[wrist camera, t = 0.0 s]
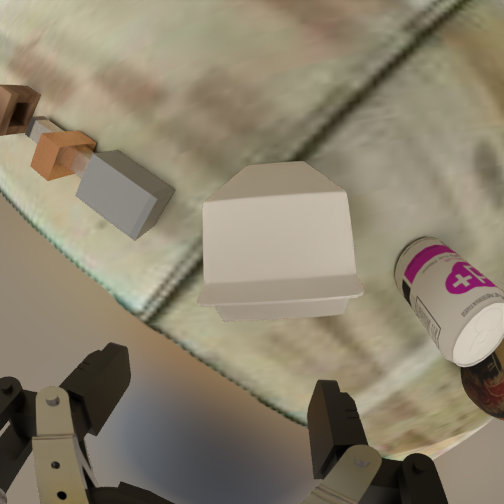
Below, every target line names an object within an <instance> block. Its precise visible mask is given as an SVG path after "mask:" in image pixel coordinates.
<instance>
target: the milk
mask: <svg viewBox="0 0 504 504" xmlns="http://www.w3.org/2000/svg"><path fill="white" fill-rule="evenodd" d="M203 263H204V286H203V288H202V290H201V292H200V294H199V296H198V299H197V302H198V304H199V305H201V306H204V307H211V306H215V307H216V309H217V311H218V313H219V315H220V317H221V319H222V320H223V321H253V320H275V319H292V318H306V317H319V316H331V315H342V314H344V313H345V310H346V307H347V304H348V301H349V298H356V297H360V296H361V295H362V294H363V293H364V288H363V286H362V284H361V283H360V281H359V279H358V277H357V275H356V265H355V254H354V245H353V235H352V227H351V219H350V212H349V204H348V198H347V193H346V192H345V191H344V190H343V189H342V188H340V187H339V186H337V185H336V184H335V183H333V182H332V181H331V180H329V179H328V178H327V177H325V176H324V175H322V174H321V173H320V172H318V171H317V170H315V169H314V168H313V167H311V166H310V165H308V164H307V163H305V162H304V161H295V162H280V163H268V164H256V165H247V166H246V167H245V168H243V169H242V170H241V171H240V172H239V173H237V174H236V175H235V176H234V177H233V178H231V179H230V180H229V181H228V182H227V183H226V184H224V185H223V186H222V187H221V188H220V189H219V190H217V191H216V192H215V193H214V194H213V195H212V196H210V197H209V198H208V199H207V200H206V201H205V202H204V203H203Z"/></svg>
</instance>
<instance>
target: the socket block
mask: <svg viewBox="0 0 504 504" xmlns="http://www.w3.org/2000/svg"><path fill="white" fill-rule="evenodd" d="M40 96H41V95H40V94H38V93H37V92H35V91H34V90H32V89H31V88H29V87H28V86H21V85H0V136H3V135H10V134H18V133H26V131H27V128H28V125H29V123H30V120H31V117H32V115H33V113H34V110H35V108H36V105H37V103H38V101H39V98H40Z"/></svg>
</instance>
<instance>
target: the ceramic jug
mask: <svg viewBox="0 0 504 504" xmlns="http://www.w3.org/2000/svg"><path fill="white" fill-rule="evenodd" d="M461 379H462V384H463V387H464V390H465V392H466V394H467V395H468V396H469V398H470V399H471V400H472V401H473V402H474V403H475V404H476V405H477V406H478V407H479V408H480V409H481V410H483V411H484V412H485V413H487V414H489V415H491V416H493V417H495V418H498V419H500V420H504V338H503V339H502V341H501V342H500V344H499V345H498V346H497V348H496V349H495V350H494V351H493V352H492V353H491V354H490V355H489V356H488V357H486V358H485V359H484V360H482V361H481V362H479V363H477V364H475V365H473V366H468V367H461Z"/></svg>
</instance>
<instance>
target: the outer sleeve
mask: <svg viewBox="0 0 504 504" xmlns="http://www.w3.org/2000/svg"><path fill="white" fill-rule="evenodd" d="M174 191H175V189H174V188H172V187H171V186H169V185H168V184H167V183H165V182H164V181H162V180H161V179H159V178H158V177H156V176H155V175H153V174H152V173H150V172H149V171H148V170H146V169H145V168H143V167H142V166H140V165H139V164H137V163H136V162H134V161H133V160H131V159H130V158H129V157H127V156H126V155H124V154H123V153H121V152H120V151H118V150H114V151H107V152H100V153H93V155H92V157H91V159H90V161H89V163H88V166H87V168H86V170H85V173H84V175H83V178H82V180H81V183H80V185H79V188H78V190H77V193H76V195H75V196H77V197H78V198H79V199H80V200H82V201H83V202H84V203H85V204H87V205H88V206H89V207H91V208H92V209H93V210H94V211H96V212H97V213H98V214H100V215H101V216H102V217H104V218H105V219H106V220H108V221H109V222H110V223H111V224H113V225H114V226H115V227H117V228H118V229H120V230H121V231H122V232H124V233H125V234H126V235H128V236H129V237H130V238H132V239H133V240H134V241H135V240H137V239H138V238H139V237H140V236H142V235H143V234H144V233H146V232H147V231H148V230H149V229H151V228H152V227H153V226H154V225H155V223H156V222H157V220H158V218H159V216H160V215H161V213H162V211H163V209H164V208H165V206H166V204H167V203H168V201H169V199H170V198H171V196H172V194H173V193H174Z"/></svg>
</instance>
